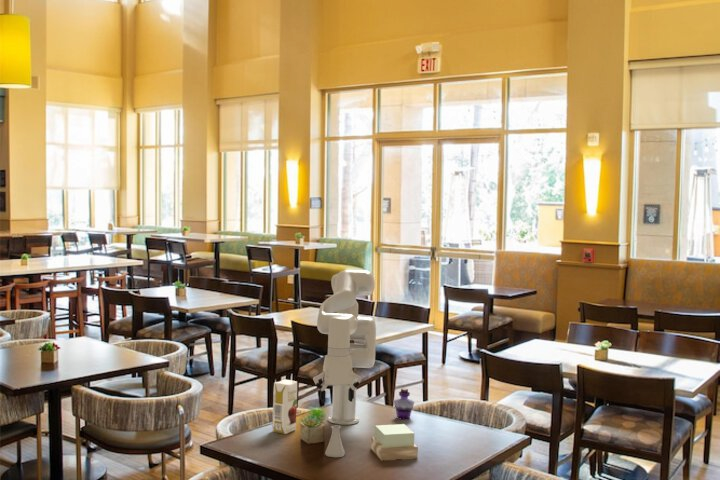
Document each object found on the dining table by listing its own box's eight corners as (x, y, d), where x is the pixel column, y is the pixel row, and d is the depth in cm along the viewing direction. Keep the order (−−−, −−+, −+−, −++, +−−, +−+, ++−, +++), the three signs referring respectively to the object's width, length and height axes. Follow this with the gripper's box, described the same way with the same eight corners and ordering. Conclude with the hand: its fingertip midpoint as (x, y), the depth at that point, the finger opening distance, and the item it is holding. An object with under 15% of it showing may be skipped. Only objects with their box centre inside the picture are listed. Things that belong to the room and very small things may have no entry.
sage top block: (374, 437, 264) (375, 425, 264) (403, 436, 267) (404, 424, 267) (383, 447, 253) (384, 434, 253) (414, 445, 256) (414, 433, 256)
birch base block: (371, 449, 264) (371, 437, 264) (405, 447, 268) (405, 435, 268) (381, 461, 252) (382, 448, 252) (417, 459, 255) (417, 446, 255)
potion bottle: (403, 413, 312) (405, 385, 312) (418, 418, 305) (419, 389, 305) (388, 416, 307) (389, 388, 306) (402, 421, 300) (403, 392, 300)
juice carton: (269, 432, 280) (271, 382, 279) (282, 426, 287) (283, 378, 287) (286, 435, 276) (287, 385, 275) (298, 429, 284) (300, 381, 283)
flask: (344, 458, 253) (345, 430, 252) (323, 457, 253) (324, 429, 252) (345, 451, 260) (346, 423, 259) (325, 451, 260) (326, 423, 260)
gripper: (359, 350, 261) (358, 398, 261) (312, 350, 256) (310, 399, 256) (365, 353, 253) (363, 403, 254) (316, 354, 249) (314, 404, 249)
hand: (336, 401), depth 255 cm, fingers open, 9 cm apart
